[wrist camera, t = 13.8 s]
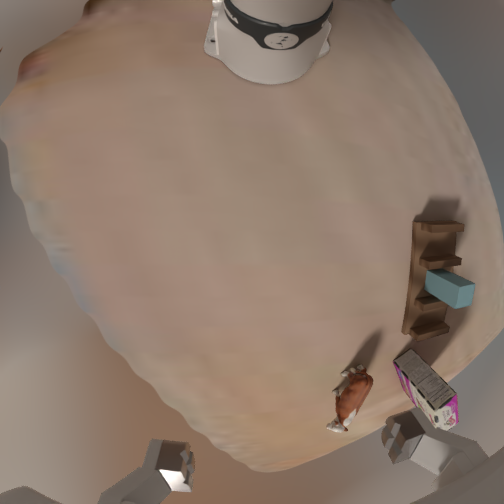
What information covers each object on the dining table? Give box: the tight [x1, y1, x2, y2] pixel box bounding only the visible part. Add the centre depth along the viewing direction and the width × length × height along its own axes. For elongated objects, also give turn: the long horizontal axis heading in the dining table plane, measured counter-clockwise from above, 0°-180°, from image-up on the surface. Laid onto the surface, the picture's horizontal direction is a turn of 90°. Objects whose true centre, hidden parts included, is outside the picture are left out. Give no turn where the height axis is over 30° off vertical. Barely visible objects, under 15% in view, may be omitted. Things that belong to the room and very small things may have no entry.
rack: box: [402, 221, 464, 341], centre depth 39 cm, size 20×10×4 cm, turn 4°
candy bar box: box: [393, 348, 459, 431], centre depth 38 cm, size 11×5×16 cm, turn 32°
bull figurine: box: [327, 365, 373, 432], centre depth 41 cm, size 4×13×8 cm, turn 160°
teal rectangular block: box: [424, 268, 475, 309], centre depth 36 cm, size 4×4×9 cm
